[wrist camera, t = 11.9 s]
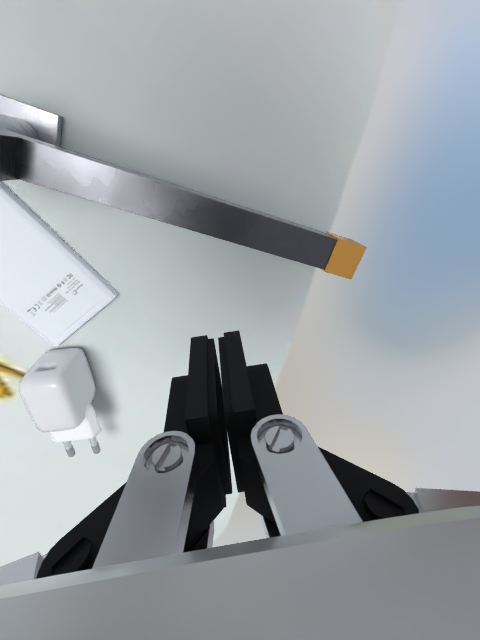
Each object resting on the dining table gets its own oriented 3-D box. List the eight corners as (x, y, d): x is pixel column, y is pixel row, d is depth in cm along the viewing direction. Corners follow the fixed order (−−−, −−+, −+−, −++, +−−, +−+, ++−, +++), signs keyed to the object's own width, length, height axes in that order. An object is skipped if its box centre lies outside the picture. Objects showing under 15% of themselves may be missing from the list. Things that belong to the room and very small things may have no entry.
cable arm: (-81, 161, 18) (-151, 160, 14) (-89, 77, 16) (-169, 53, 13) (333, 280, 23) (356, 301, 20) (357, 227, 22) (386, 239, 18)
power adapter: (116, 427, 36) (101, 471, 31) (73, 432, 36) (50, 478, 31) (89, 342, 31) (66, 378, 26) (38, 347, 31) (4, 385, 26)
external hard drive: (0, 175, 25) (120, 291, 30) (-64, 241, 26) (60, 340, 31) (-13, 176, 23) (115, 297, 28) (-80, 246, 25) (53, 349, 30)
